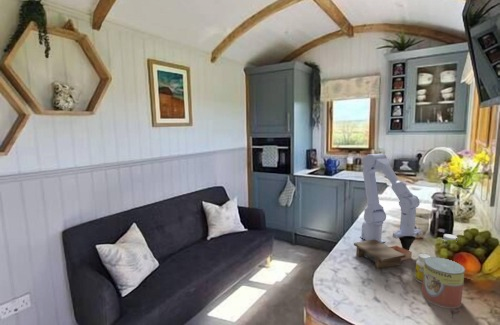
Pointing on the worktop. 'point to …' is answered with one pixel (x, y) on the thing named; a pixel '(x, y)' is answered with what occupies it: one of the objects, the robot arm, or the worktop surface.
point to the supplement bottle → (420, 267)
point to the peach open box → (402, 251)
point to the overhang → (379, 253)
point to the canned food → (443, 282)
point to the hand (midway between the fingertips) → (405, 251)
